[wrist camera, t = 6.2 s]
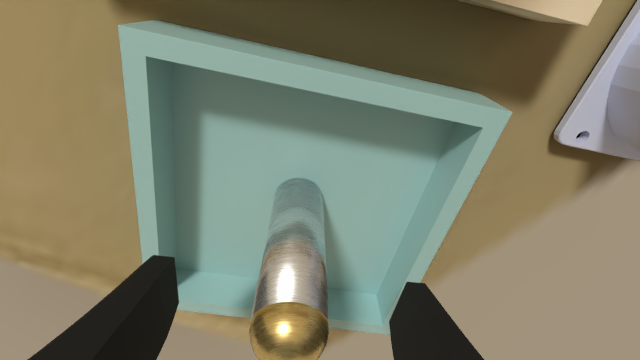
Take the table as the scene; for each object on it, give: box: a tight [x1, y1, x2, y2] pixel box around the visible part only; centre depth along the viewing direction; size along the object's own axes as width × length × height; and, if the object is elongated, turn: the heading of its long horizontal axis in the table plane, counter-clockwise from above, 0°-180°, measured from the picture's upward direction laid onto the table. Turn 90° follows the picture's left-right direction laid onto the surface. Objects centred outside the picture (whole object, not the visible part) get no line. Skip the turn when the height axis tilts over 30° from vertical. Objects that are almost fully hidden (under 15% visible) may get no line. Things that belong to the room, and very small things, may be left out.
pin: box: [249, 178, 329, 360], centre depth 11 cm, size 2×2×8 cm
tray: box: [118, 20, 512, 335], centre depth 14 cm, size 12×12×2 cm
